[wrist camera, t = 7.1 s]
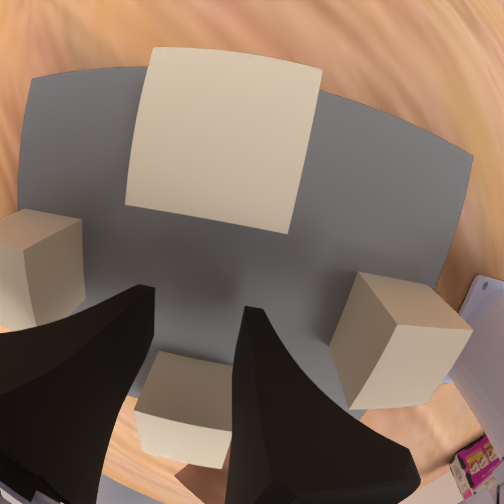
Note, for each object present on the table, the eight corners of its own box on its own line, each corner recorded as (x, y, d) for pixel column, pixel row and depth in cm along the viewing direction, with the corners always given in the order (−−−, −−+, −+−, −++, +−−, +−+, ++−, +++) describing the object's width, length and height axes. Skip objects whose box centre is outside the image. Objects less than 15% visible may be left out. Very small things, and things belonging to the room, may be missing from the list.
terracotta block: (294, 460, 11) (230, 523, 9) (287, 467, 14) (236, 517, 11) (237, 419, 14) (174, 475, 11) (241, 434, 16) (190, 480, 13)
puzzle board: (465, 154, 10) (534, 166, 5) (354, 418, 16) (369, 472, 11) (39, 80, 9) (-25, 70, 4) (49, 358, 14) (17, 400, 10)
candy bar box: (447, 465, 22) (477, 546, 7) (455, 452, 20) (490, 541, 5) (504, 428, 21) (540, 497, 5) (515, 411, 19) (557, 485, 4)
